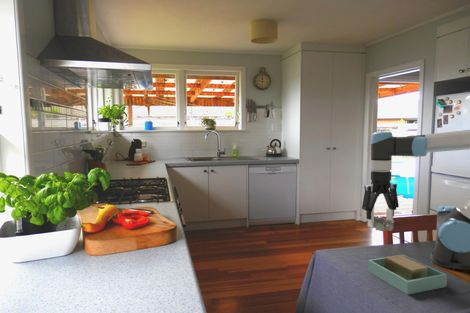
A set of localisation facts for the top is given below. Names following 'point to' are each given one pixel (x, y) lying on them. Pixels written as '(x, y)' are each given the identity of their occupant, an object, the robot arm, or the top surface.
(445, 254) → the robot arm
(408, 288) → the tote
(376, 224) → the egg carton
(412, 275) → the tan cardboard block
